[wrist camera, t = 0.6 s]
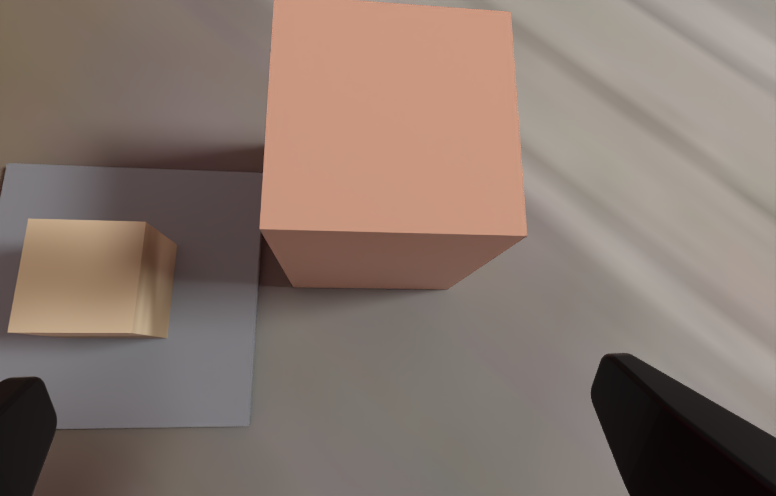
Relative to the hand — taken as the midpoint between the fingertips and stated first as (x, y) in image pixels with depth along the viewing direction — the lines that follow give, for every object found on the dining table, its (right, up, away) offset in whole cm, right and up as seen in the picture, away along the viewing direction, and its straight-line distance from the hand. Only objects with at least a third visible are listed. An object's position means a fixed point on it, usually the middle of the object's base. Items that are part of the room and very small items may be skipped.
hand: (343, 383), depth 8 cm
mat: (-10, 0, +13) cm, 16 cm away
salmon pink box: (0, +4, +15) cm, 15 cm away
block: (-10, 0, +12) cm, 16 cm away
